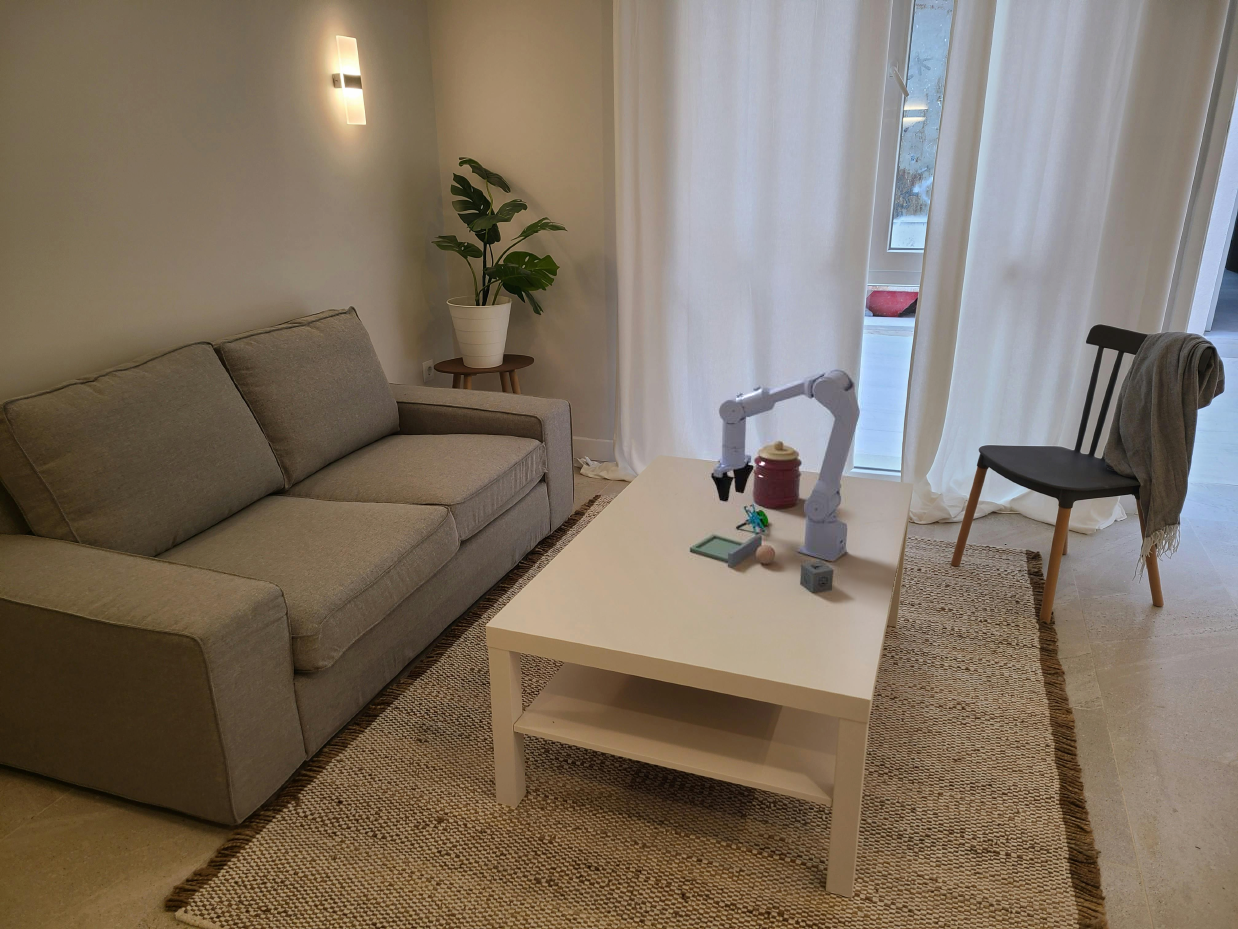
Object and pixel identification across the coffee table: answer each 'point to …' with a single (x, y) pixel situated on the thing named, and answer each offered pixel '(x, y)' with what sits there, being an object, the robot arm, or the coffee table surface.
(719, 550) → the green tray
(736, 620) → the coffee table surface
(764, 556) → the rubber ball
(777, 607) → the coffee table surface
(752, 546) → the low wall
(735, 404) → the robot arm
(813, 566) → the dice cube
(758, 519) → the stick construction toy
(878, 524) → the coffee table surface
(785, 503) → the canister
